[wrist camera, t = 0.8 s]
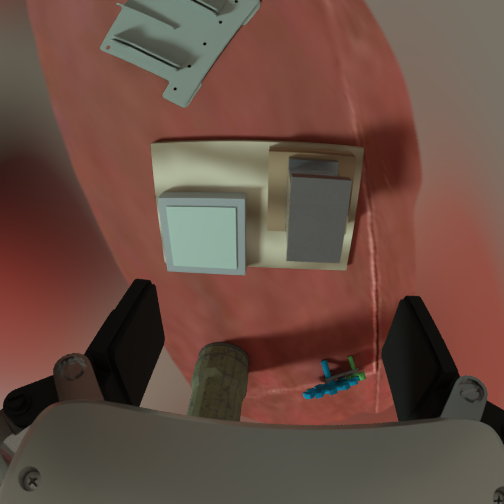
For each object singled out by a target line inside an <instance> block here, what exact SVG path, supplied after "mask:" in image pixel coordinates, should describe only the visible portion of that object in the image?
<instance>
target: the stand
mask: <svg viewBox="0 0 504 504" xmlns="http://www.w3.org/2000/svg"><path fill="white" fill-rule="evenodd" d="M289 157H300V158H317V159H330V160H337V161H338V162H339V167H338V173H339V174H340V176H341V177H350V179H351V180H352V185H351V193H350V200H349V208H348V215H347V222H346V228H345V234H346V231H347V225H348V218H349V211H350V204H351V196H352V189H353V181H354V172H355V164H356V156H355V155H354V154H353V153H352V152H348V151H337V150H325V149H311V148H293V147H270V146H269V173H268V210H267V231H285V220H286V202H287V183H288V161H289Z"/></svg>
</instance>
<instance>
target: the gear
mask: <svg viewBox="0 0 504 504" xmlns="http://www.w3.org/2000/svg"><path fill="white" fill-rule="evenodd" d="M348 359H349V363H350V366H351V370H348V371H345V372H342V373H339V374H336V375H333V376H331V373H330V370H329V366H328V363H327V360H324V361H321V364H322V367H323V371H324V374H325V378H324V381H325V384H319V385H316V386H314V387H315V388H310V389H307V390H306V391H307V392H304V393H303V396H304V398H306V399H312V398H314V396H315V397H316V399H317V398H321V397H323V396H324V394H330V395H333V394H336V393H338V392H337V391H339V390H347V389H349V388H350V386H352V385H356V384H358V382H357V381H360V380H364V379H366V377H365V373H364V371H362V372H359V369H358V368H355V365H354V361H353V358H352V356H349V357H348ZM358 372H359V373H358ZM347 374H350V375H348V376H346V379H345V377H342V378H339V379H338V380H337V381H334V379H335V378H338V377H341V376H344V375H347ZM351 374H352V375H351Z"/></svg>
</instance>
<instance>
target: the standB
mask: <svg viewBox="0 0 504 504" xmlns="http://www.w3.org/2000/svg"><path fill="white" fill-rule="evenodd" d="M158 206H159V214H160V222H161V229H162V237H163V244H164V251H165V257H166V264H167V270H168V271H175V272H192V273H210V274H230V275H245V273H246V266H247V265H246V193H237V192H163V193H162V194H161V195H160V196H159V197H158Z"/></svg>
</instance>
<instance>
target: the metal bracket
mask: <svg viewBox="0 0 504 504" xmlns="http://www.w3.org/2000/svg"><path fill="white" fill-rule="evenodd" d="M117 5H120V6H122V10H121V12H120V14H119V15H118V17H117V19H116V20H115V22H114V24H113V25H112V27H111V29H110V30H109V32H108V34H107V36H106V38H105V39H104V41H103V43H102V45H101V47H100V49H101V50H102V51H105V52H107V53H109V54H112V55H114V56H116V57H119V58H121V59H123V60H126V61H128V62H130V63H132V64H135V65H137V66H139V67H141V68H143V69H145V70H148V71H150V72H152V73H154V74H156V75H158V76H160V77H162V78H164V79H166V80H168V81H169V85H168V86H167V88H166V90H165V91H164V93H163V97H164V98H165V99H167V100H169V101H171V102H173V103H175V104H177V105H179V106H181V107H187V106H188V105H189V103H190V102H191V100H192V99H193V97H194V95H195V94H196V92H197V91H198V89H199V88H200V86H201V85H202V83H201V82H202V80H203V79H204V77H205V76H206V74H207V73H208V71H209V70H210V68H211V67H212V65H213V64H214V62H215V61H216V60H217V58H218V57H219V55H220V54H221V52H222V51H223V50H224V48H225V47H226V46H227V44H228V43H229V41H230V40H231V39H232V37H233V36H234V35H235V33H236V32H237V31H238V29H239V28H240V27H241V26H242V25H246V24H247V23H248V21H249V20H250V19H251V18H252V16H253V15H254V14H255V13H256V12H257V10H258V9H259V8H260V1H259V0H238V3H235V0H128V1H127V3H124V4H123V5H122V4H119V3H117ZM219 21H222V23H221V24H219ZM204 42H206V45H205V46H204V45H203V43H204ZM108 45H109V46H110V49H109V50H107V48H106V47H107V46H108ZM188 65H191V67H190V68H188ZM174 87H176V88H177V90H174Z"/></svg>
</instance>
